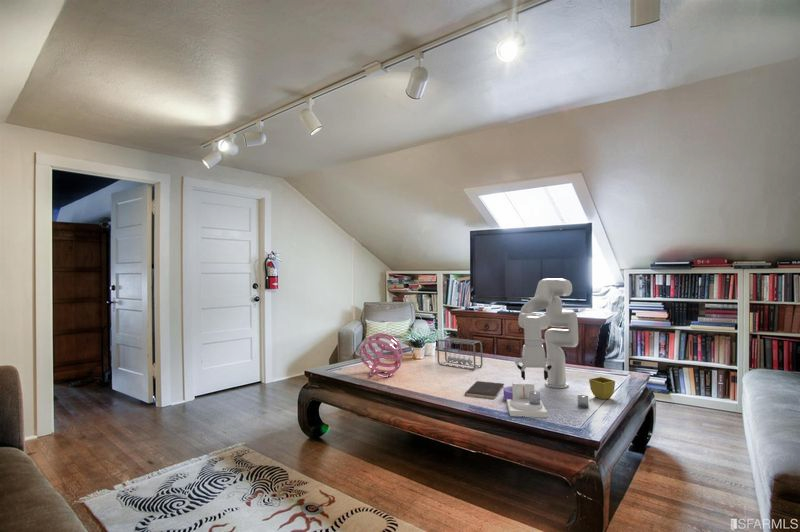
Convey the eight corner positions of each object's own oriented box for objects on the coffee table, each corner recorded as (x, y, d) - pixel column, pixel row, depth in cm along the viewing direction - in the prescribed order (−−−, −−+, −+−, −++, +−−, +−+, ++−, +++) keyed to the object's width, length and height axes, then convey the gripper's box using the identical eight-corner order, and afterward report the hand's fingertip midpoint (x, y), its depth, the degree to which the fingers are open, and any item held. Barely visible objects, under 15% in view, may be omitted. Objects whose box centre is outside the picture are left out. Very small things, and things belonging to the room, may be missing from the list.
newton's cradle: (482, 367, 272) (482, 341, 273) (475, 370, 265) (474, 343, 265) (445, 361, 292) (445, 337, 292) (437, 364, 284) (436, 339, 284)
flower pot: (603, 401, 198) (603, 383, 198) (588, 396, 206) (588, 378, 206) (616, 398, 202) (615, 380, 202) (601, 394, 210) (600, 376, 210)
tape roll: (507, 403, 199) (507, 393, 199) (500, 396, 211) (500, 386, 211) (531, 402, 200) (531, 392, 200) (522, 395, 212) (522, 385, 212)
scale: (506, 402, 200) (506, 382, 200) (540, 403, 197) (539, 383, 197) (510, 416, 182) (509, 393, 182) (547, 417, 179) (546, 394, 179)
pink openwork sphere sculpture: (381, 351, 235) (394, 320, 256) (344, 359, 248) (359, 329, 270) (403, 384, 246) (414, 351, 267) (367, 389, 259) (380, 358, 281)
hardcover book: (504, 387, 227) (504, 383, 227) (495, 400, 206) (495, 395, 206) (476, 384, 234) (476, 380, 234) (464, 396, 213) (464, 392, 213)
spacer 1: (529, 401, 190) (528, 391, 190) (539, 402, 190) (539, 391, 190) (530, 404, 186) (530, 394, 186) (541, 405, 185) (540, 394, 185)
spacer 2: (576, 405, 194) (576, 394, 194) (586, 405, 193) (586, 394, 193) (579, 408, 190) (579, 397, 190) (589, 408, 189) (589, 397, 189)
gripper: (551, 340, 190) (552, 377, 191) (513, 341, 193) (514, 376, 194) (554, 344, 183) (555, 382, 183) (514, 344, 186) (516, 381, 186)
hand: (534, 379), depth 188 cm, fingers open, 9 cm apart
